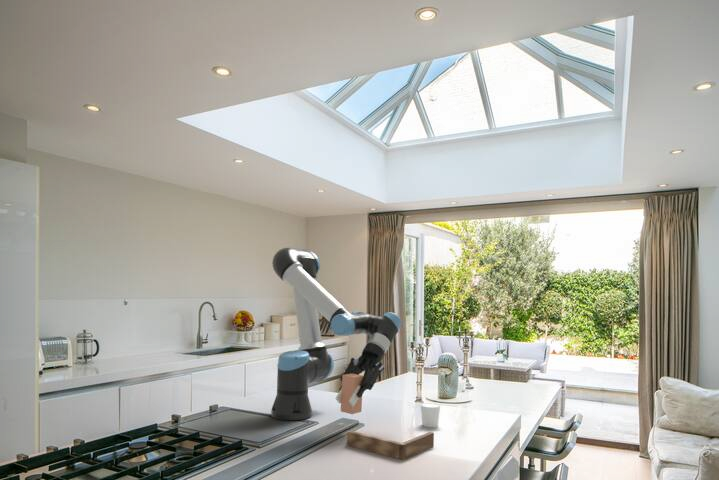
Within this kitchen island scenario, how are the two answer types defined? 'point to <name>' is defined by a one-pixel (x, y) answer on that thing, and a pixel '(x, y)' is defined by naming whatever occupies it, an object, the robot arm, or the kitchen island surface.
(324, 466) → the kitchen island surface
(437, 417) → the white cup
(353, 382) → the block
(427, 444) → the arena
